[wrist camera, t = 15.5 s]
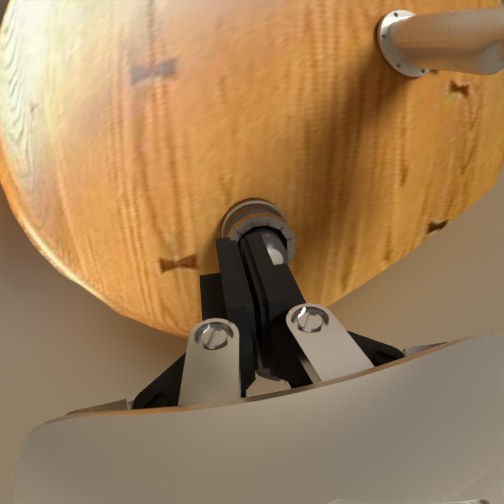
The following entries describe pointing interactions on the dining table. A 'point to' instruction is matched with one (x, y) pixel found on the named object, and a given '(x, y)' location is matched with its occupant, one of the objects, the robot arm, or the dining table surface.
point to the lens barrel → (257, 222)
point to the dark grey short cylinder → (270, 244)
